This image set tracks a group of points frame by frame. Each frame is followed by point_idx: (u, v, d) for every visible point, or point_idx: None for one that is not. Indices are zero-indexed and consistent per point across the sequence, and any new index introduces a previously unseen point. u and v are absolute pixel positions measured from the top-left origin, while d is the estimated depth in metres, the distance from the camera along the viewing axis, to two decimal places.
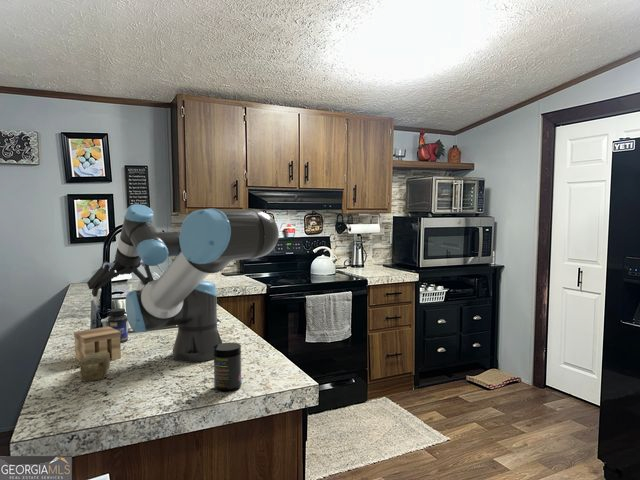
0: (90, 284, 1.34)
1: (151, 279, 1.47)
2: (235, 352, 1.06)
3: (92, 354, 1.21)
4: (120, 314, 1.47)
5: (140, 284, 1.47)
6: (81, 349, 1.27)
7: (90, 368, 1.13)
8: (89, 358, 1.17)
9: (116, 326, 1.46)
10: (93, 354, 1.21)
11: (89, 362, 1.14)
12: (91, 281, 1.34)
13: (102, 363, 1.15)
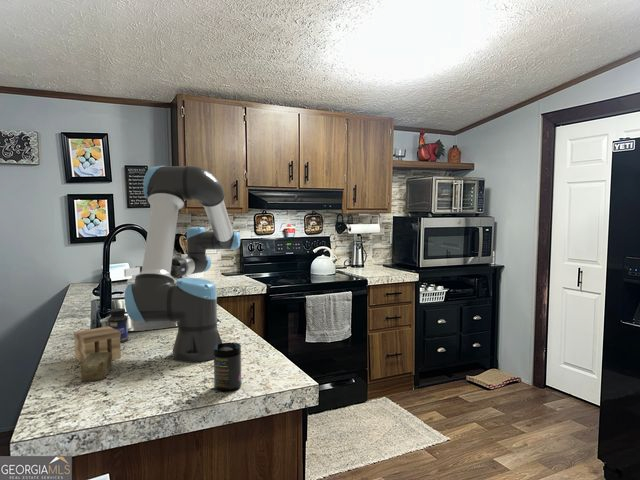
0: None
1: (175, 269, 1.61)
2: (235, 352, 1.06)
3: (94, 354, 1.21)
4: (120, 314, 1.47)
5: None
6: (81, 349, 1.27)
7: (90, 368, 1.13)
8: (90, 357, 1.17)
9: (116, 326, 1.46)
10: (95, 354, 1.21)
11: (89, 362, 1.14)
12: None
13: (102, 363, 1.14)
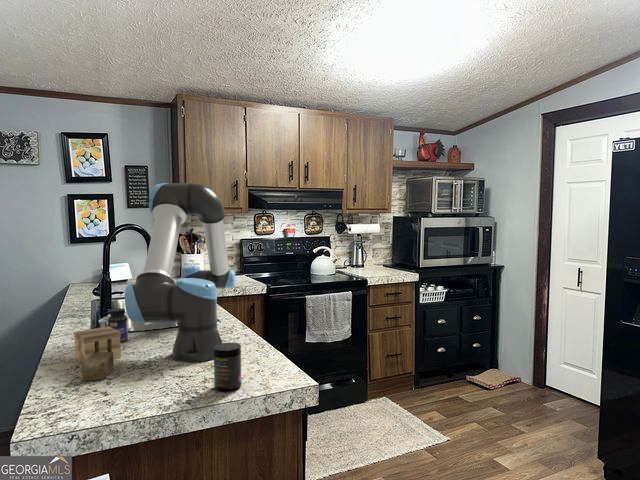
0: None
1: None
2: (235, 352, 1.06)
3: (96, 354, 1.21)
4: (120, 314, 1.47)
5: None
6: (81, 349, 1.27)
7: (91, 368, 1.13)
8: (92, 357, 1.18)
9: (116, 326, 1.46)
10: (97, 354, 1.21)
11: (90, 361, 1.14)
12: None
13: (103, 363, 1.14)
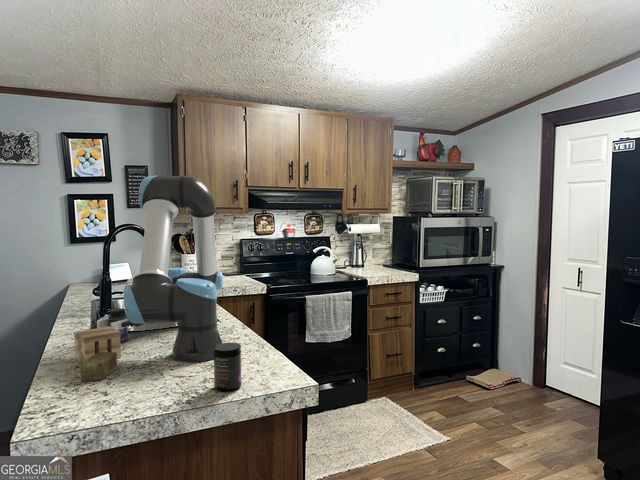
0: None
1: None
2: (235, 352, 1.06)
3: (99, 353, 1.21)
4: (120, 314, 1.47)
5: None
6: (81, 349, 1.27)
7: (89, 368, 1.13)
8: (93, 357, 1.18)
9: None
10: (100, 353, 1.21)
11: (89, 361, 1.14)
12: None
13: (101, 364, 1.14)
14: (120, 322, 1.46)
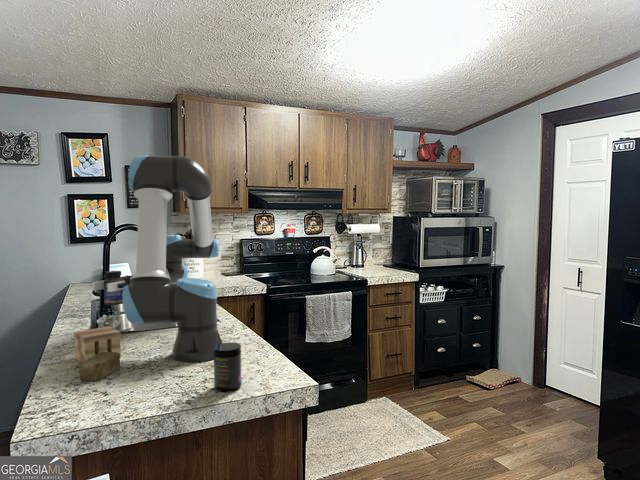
0: None
1: None
2: (235, 352, 1.06)
3: (102, 353, 1.21)
4: (116, 275, 1.45)
5: None
6: (81, 349, 1.27)
7: (86, 368, 1.13)
8: (94, 357, 1.18)
9: None
10: (103, 353, 1.21)
11: (88, 361, 1.15)
12: None
13: (98, 364, 1.14)
14: (116, 283, 1.43)
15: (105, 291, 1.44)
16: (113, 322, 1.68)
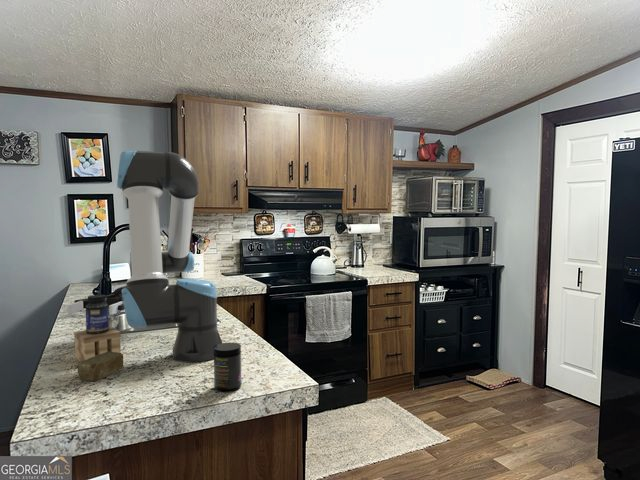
0: None
1: None
2: (235, 352, 1.06)
3: (106, 353, 1.21)
4: (102, 300, 1.30)
5: None
6: (81, 349, 1.27)
7: (83, 368, 1.13)
8: (96, 356, 1.18)
9: (98, 314, 1.29)
10: (106, 353, 1.21)
11: (87, 361, 1.15)
12: None
13: (95, 365, 1.13)
14: (117, 305, 1.30)
15: (89, 318, 1.28)
16: (112, 322, 1.68)
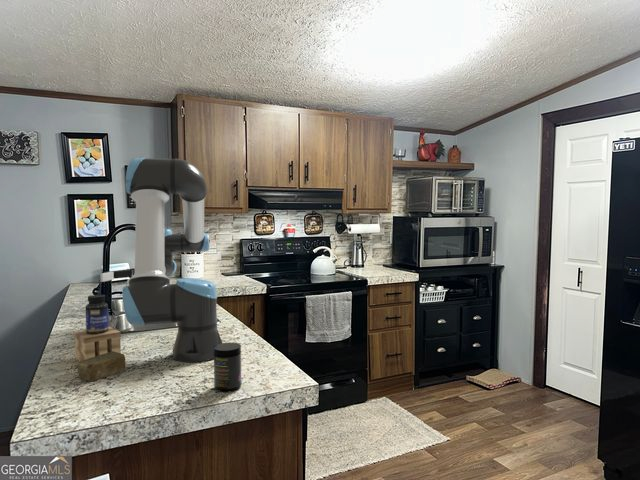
0: None
1: None
2: (235, 352, 1.06)
3: (109, 353, 1.21)
4: (102, 300, 1.30)
5: None
6: (81, 349, 1.27)
7: (81, 367, 1.13)
8: (97, 356, 1.18)
9: (98, 314, 1.29)
10: (109, 353, 1.21)
11: (86, 360, 1.15)
12: None
13: (91, 365, 1.13)
14: None
15: (89, 319, 1.28)
16: (112, 322, 1.68)
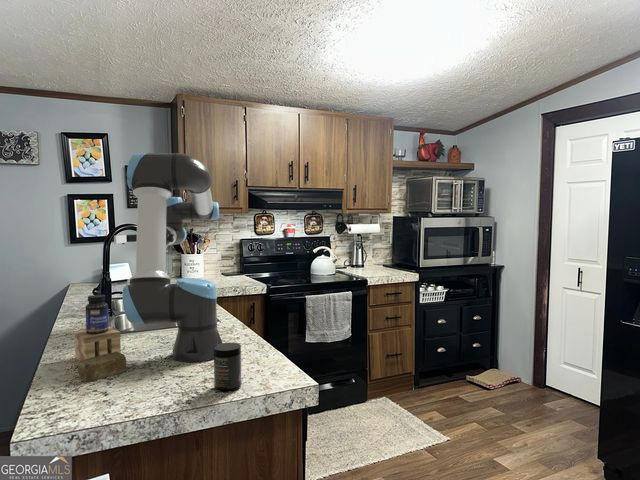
0: None
1: (171, 234, 1.55)
2: (235, 352, 1.06)
3: (111, 353, 1.21)
4: (102, 300, 1.30)
5: None
6: (81, 349, 1.27)
7: (80, 367, 1.14)
8: (99, 356, 1.18)
9: (98, 314, 1.29)
10: (112, 354, 1.21)
11: (86, 360, 1.15)
12: None
13: (89, 365, 1.13)
14: None
15: (89, 319, 1.28)
16: (111, 322, 1.68)
